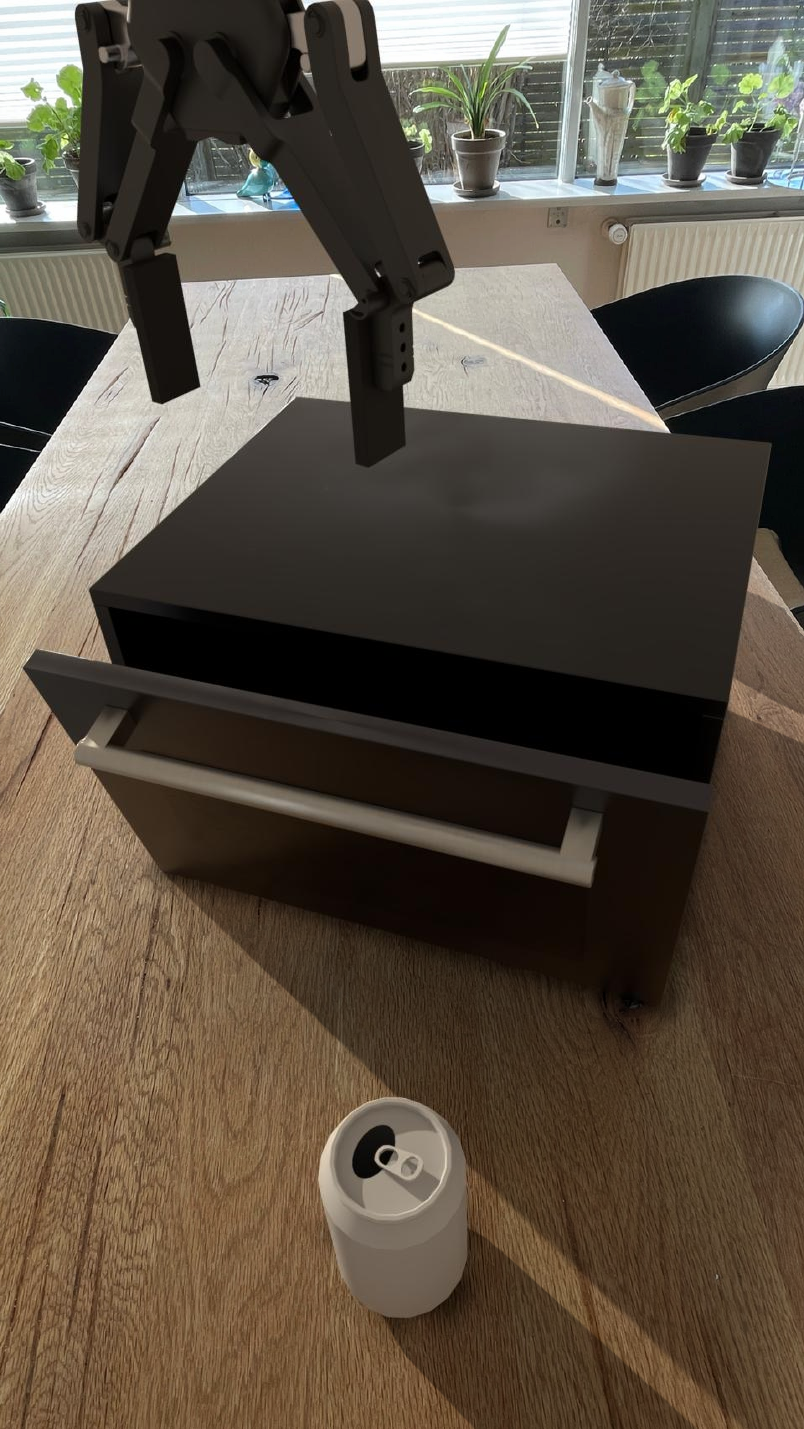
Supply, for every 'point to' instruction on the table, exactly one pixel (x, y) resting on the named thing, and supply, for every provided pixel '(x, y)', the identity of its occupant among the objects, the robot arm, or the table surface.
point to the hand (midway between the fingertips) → (271, 423)
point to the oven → (462, 580)
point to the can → (396, 1205)
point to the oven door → (394, 822)
